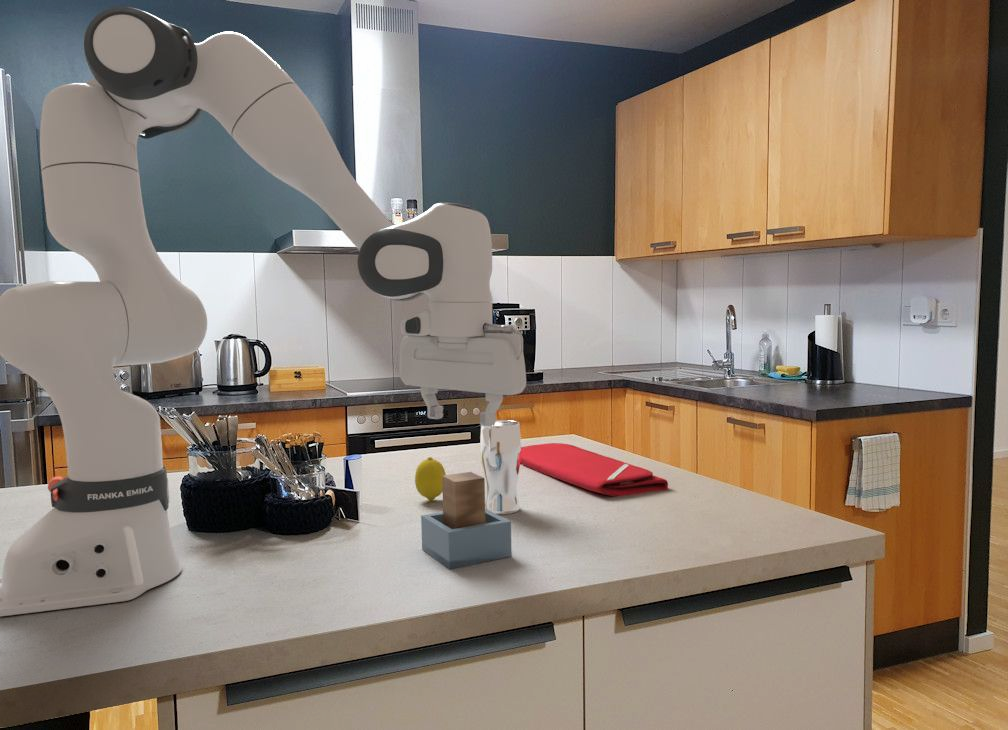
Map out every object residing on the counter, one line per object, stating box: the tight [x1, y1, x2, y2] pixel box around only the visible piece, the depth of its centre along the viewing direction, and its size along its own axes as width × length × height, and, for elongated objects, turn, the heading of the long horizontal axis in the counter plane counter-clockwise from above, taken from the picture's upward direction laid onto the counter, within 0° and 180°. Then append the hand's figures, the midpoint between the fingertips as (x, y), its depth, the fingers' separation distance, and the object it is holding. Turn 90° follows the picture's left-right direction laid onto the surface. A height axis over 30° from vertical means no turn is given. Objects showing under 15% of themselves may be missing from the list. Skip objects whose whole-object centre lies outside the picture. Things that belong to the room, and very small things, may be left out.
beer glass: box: [479, 419, 522, 515], centre depth 129 cm, size 7×7×15 cm
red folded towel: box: [520, 442, 669, 497], centre depth 157 cm, size 16×41×4 cm, turn 24°
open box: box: [420, 509, 512, 570], centre depth 107 cm, size 10×10×5 cm
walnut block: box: [442, 471, 486, 529], centre depth 107 cm, size 4×4×10 cm
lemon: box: [414, 456, 447, 502], centre depth 136 cm, size 6×6×8 cm
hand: (460, 421), depth 106 cm, fingers open, 8 cm apart
